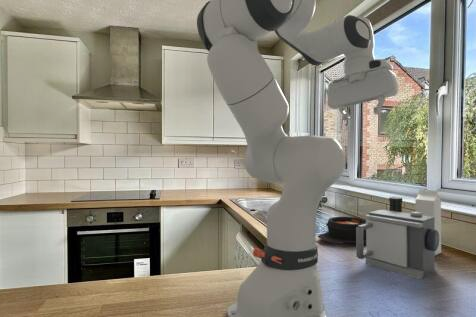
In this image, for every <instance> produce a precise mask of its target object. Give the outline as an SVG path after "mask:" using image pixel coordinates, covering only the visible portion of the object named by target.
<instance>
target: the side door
mask: <svg viewBox="0 0 476 317" xmlns="http://www.w3.org/2000/svg"><path fill="white" fill-rule="evenodd" d="M365 220H366V224H363V225H359V226H358V227H357V228H356V244H355V247H356V248H355V251H356V254H355V256H356V258H357V259H360V260H364V259H366V258H367V257H370V258H374V259H378V260H381V261H385V262H388V263H392V264H396V265H399V266H403V267H407V226H406V225H400V224H394V223H388V222H383V221H377V220H371V219H365ZM365 229H366V242H365V243H366V251H364V243H363V230H365Z"/></svg>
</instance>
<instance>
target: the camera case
mask: <svg viewBox="0 0 476 317" xmlns="http://www.w3.org/2000/svg"><path fill="white" fill-rule="evenodd" d="M364 218H365V219H364V220H366V219H371V220H377V221H383V222H388V223H394V224H400V225H406V226H407V267H403V266H399V265H396V264H392V263H388V262H385V261H381V260H378V259H374V258H370V257H367V258H365V264H367V265H371V266H374V267H378V268H381V269H384V270H387V271H391V272H393V273H397V274H400V275H401V274H402V275H405V276H408V277H411V278H415V279H418V280H421V279H423V278H424V277H426V276H428V275H430V274H431V273H433V272H434V271H436V270H435V269H436V268H435V266H436V265H435V264H436V263H435V258H436V255H435V251H436V250H437V248H438V245H439V233H438V231H437V230H434V217H431V216H424V215H422V213H421V212H416V211H410V213H409V212H403V211H402V212H395V211H389V210H387V209H378V210H375V211H374V210H373V211H369V212H368V214H366V215H365V217H364Z"/></svg>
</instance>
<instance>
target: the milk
mask: <svg viewBox="0 0 476 317" xmlns="http://www.w3.org/2000/svg"><path fill="white" fill-rule="evenodd" d="M414 202H415V206H414V207H415V209H414V210H415V212H421V213H422V215H424V216H431V217H434V230H437V231H438V233H439V245H438V248H437V250H436V251H435V256H437V255H439V254H442V199H441V197H440V196H439V194H438V191H437V190H429V189H419V190H418V194H417V196H416V198H415V200H414Z"/></svg>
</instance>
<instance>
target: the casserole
mask: <svg viewBox="0 0 476 317" xmlns="http://www.w3.org/2000/svg"><path fill="white" fill-rule="evenodd" d="M363 224H366V219H363V218H359V217H353V216H334V217H330V218H329V219H328V220H327V222H326V223H325V225H326V227H327V229H328V231H326V232H324V233H320V234H318V235H317V237H318V238H319V239H320V240H322V241H325V242H328V243H332V244H333V243H334V244H345V245H356V228H357V227H358V226H359V225H363ZM365 243H366V229H365V230H363V244H365Z"/></svg>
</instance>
